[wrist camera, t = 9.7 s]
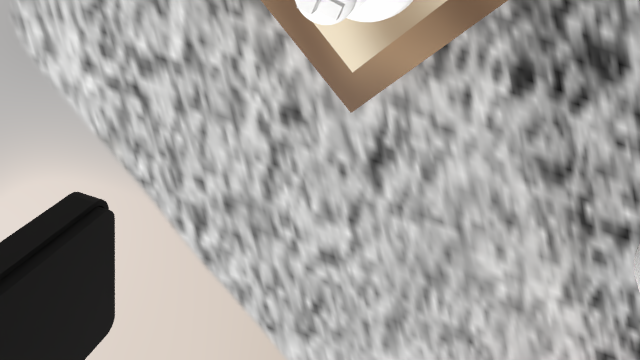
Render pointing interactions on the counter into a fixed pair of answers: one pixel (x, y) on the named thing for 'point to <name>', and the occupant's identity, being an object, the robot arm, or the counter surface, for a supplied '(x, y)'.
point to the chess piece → (350, 10)
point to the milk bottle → (637, 267)
